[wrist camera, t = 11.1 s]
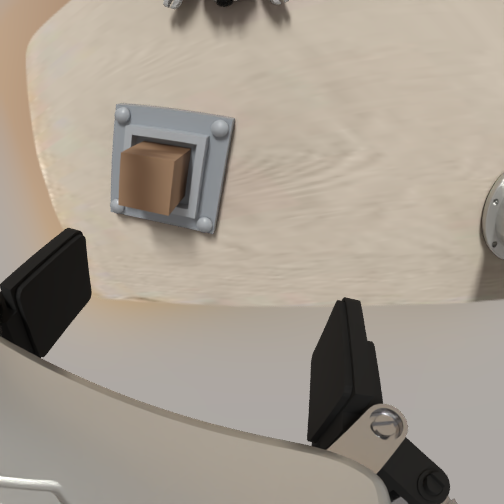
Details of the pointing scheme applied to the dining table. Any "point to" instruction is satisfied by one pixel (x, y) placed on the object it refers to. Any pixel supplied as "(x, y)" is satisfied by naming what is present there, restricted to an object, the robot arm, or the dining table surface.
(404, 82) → the dining table surface
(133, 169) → the walnut cube
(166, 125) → the base plate
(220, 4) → the robot toy
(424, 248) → the dining table surface
